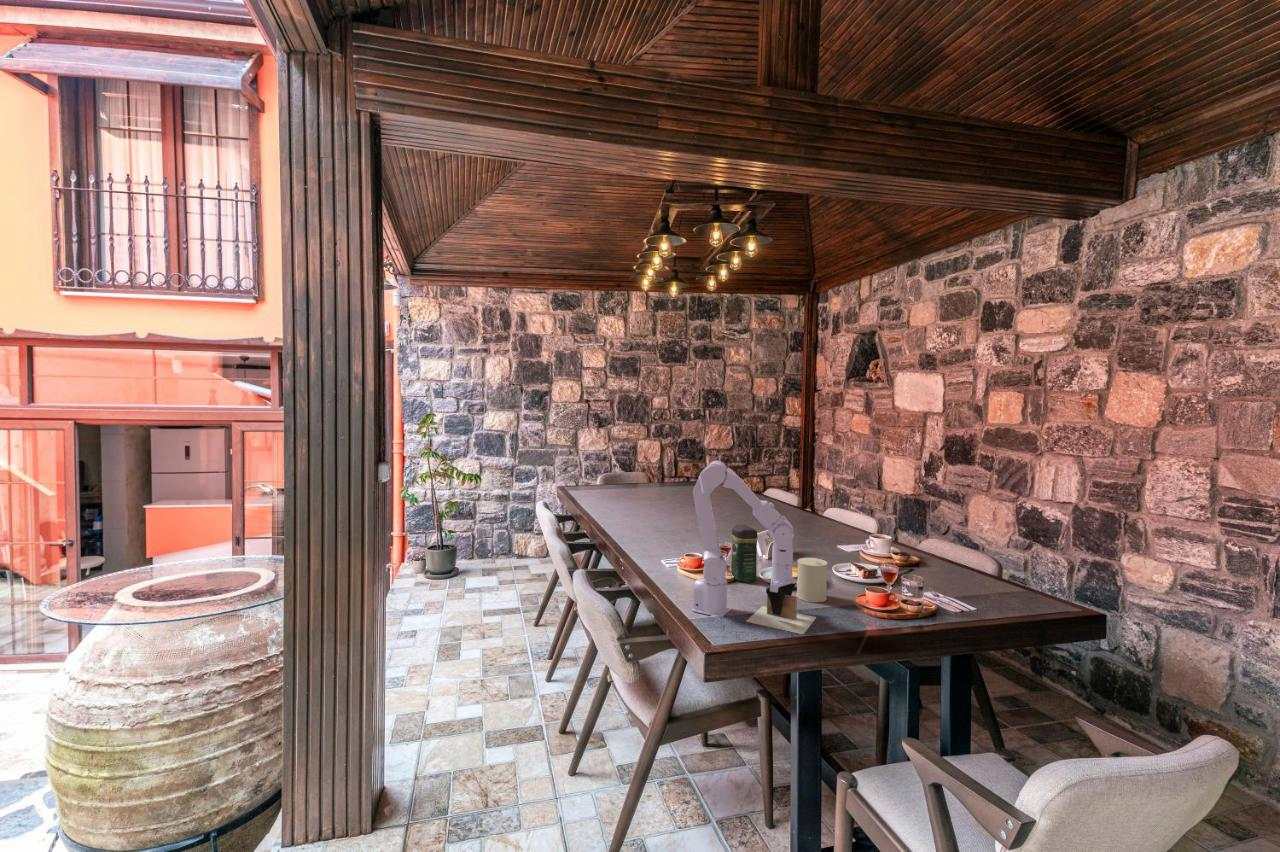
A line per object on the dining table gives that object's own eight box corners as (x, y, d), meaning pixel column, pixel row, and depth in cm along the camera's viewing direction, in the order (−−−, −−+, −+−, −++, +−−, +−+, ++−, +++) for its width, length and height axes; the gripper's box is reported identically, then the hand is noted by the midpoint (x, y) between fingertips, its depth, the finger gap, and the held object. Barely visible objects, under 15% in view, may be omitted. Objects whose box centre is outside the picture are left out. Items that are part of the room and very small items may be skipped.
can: (812, 604, 175) (813, 565, 174) (790, 595, 183) (791, 558, 182) (833, 599, 179) (834, 561, 179) (810, 590, 187) (811, 554, 187)
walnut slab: (766, 614, 165) (767, 593, 164) (769, 611, 167) (769, 591, 166) (794, 619, 161) (795, 599, 160) (796, 617, 162) (797, 596, 162)
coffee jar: (759, 582, 195) (761, 528, 194) (737, 583, 194) (738, 529, 193) (749, 573, 204) (750, 522, 204) (728, 574, 203) (729, 523, 202)
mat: (745, 623, 159) (745, 621, 159) (762, 607, 171) (762, 605, 171) (803, 636, 151) (803, 634, 151) (816, 619, 163) (816, 617, 163)
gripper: (788, 571, 155) (787, 621, 155) (803, 559, 167) (801, 604, 168) (763, 567, 158) (762, 615, 159) (779, 555, 171) (778, 600, 171)
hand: (780, 609), depth 164 cm, fingers open, 7 cm apart
